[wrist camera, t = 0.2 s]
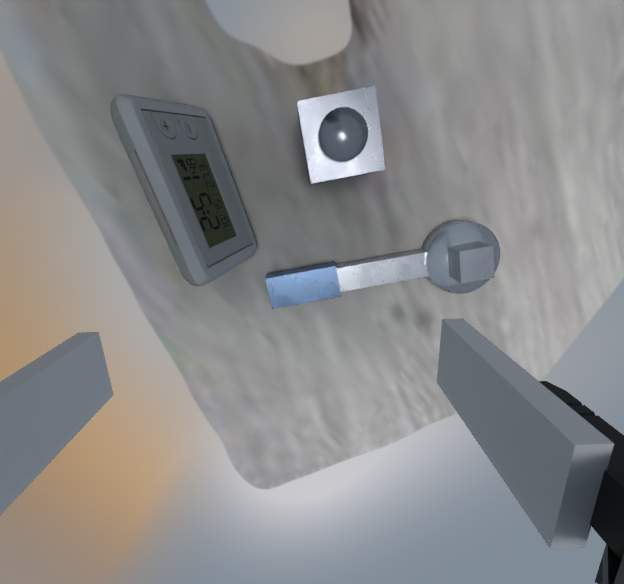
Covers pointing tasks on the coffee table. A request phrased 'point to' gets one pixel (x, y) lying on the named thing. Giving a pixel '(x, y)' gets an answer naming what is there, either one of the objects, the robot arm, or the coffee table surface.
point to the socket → (341, 135)
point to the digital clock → (185, 184)
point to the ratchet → (398, 267)
